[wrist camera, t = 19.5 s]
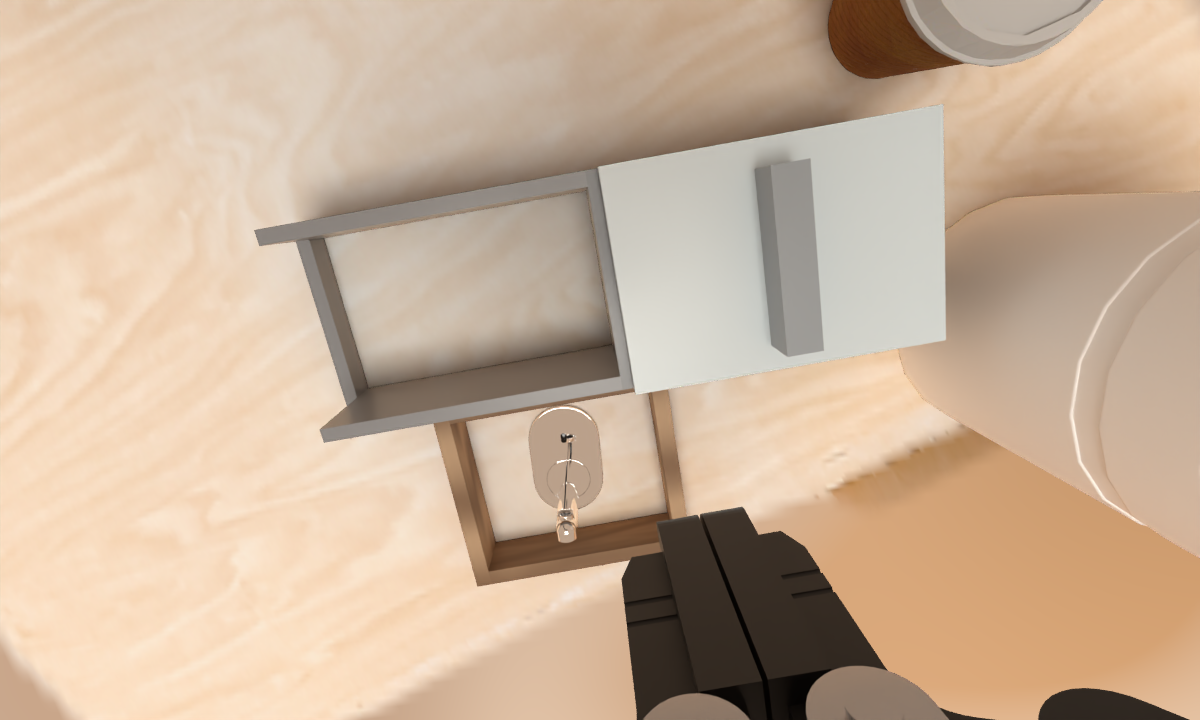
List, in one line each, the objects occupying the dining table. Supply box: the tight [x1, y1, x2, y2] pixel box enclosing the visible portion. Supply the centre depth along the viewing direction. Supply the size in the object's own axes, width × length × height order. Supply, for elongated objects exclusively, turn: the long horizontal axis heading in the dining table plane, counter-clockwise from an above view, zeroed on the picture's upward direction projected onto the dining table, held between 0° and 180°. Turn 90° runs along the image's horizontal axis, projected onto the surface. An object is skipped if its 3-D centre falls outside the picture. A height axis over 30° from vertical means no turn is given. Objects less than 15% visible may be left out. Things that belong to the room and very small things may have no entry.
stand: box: [529, 405, 603, 543], centre depth 37 cm, size 8×5×8 cm
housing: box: [254, 168, 634, 443], centre depth 34 cm, size 12×35×8 cm, turn 100°
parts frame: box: [434, 388, 687, 586], centre depth 39 cm, size 13×15×4 cm
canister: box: [898, 191, 1200, 558], centre depth 29 cm, size 16×16×20 cm
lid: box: [598, 104, 946, 395], centre depth 28 cm, size 12×17×3 cm
